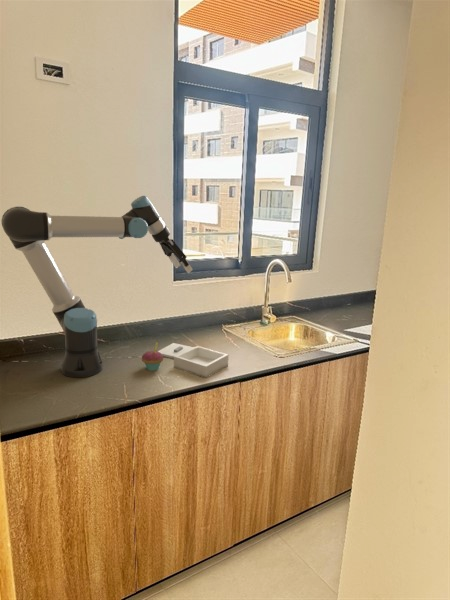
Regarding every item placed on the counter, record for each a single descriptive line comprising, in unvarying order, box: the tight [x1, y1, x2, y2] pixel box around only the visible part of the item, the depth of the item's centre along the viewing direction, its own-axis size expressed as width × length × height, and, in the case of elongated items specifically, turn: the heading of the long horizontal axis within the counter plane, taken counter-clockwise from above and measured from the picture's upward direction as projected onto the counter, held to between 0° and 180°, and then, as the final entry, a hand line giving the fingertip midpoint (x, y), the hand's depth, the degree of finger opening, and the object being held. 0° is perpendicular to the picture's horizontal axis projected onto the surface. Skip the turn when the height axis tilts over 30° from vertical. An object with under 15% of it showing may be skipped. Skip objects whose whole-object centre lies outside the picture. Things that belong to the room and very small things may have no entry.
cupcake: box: [141, 341, 165, 371], centre depth 164 cm, size 9×8×12 cm
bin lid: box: [157, 342, 195, 359], centre depth 183 cm, size 14×14×2 cm
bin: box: [173, 345, 229, 379], centre depth 169 cm, size 16×16×5 cm
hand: (184, 269), depth 186 cm, fingers open, 13 cm apart
